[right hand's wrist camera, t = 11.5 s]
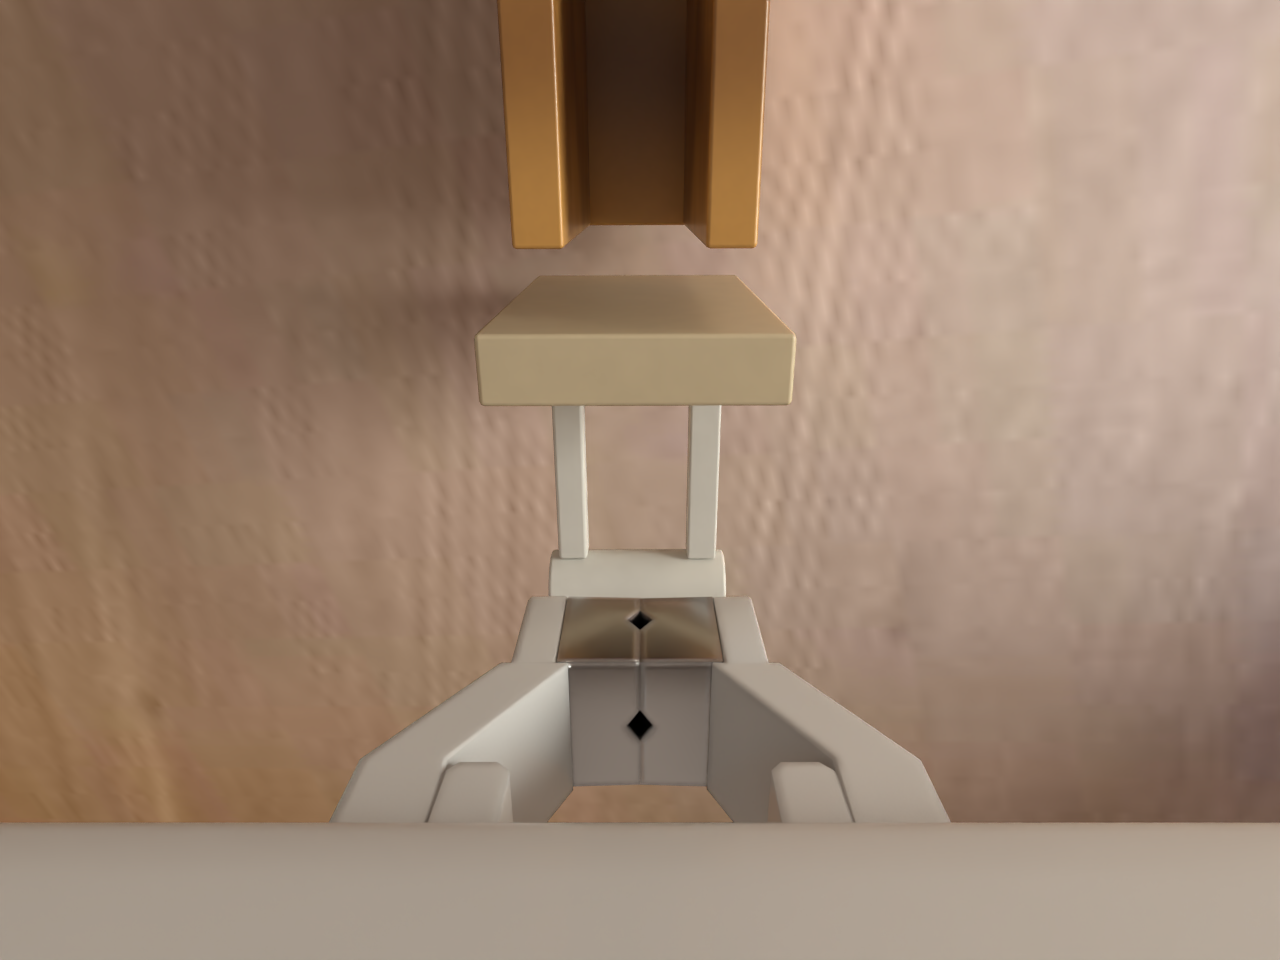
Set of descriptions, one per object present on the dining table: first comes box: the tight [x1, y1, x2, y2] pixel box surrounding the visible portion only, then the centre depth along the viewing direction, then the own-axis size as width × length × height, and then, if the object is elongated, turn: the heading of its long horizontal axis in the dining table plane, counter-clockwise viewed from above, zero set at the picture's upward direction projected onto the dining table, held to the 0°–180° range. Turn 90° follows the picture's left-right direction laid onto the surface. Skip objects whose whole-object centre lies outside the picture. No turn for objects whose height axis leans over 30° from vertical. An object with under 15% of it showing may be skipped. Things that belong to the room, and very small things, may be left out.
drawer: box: [474, 0, 796, 598], centre depth 14 cm, size 23×5×8 cm, turn 0°
